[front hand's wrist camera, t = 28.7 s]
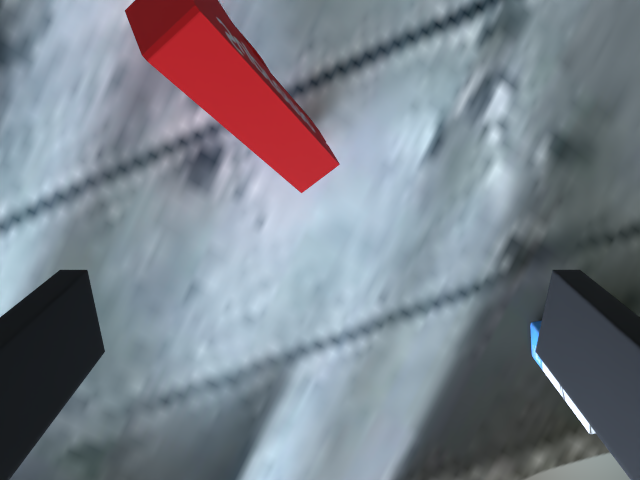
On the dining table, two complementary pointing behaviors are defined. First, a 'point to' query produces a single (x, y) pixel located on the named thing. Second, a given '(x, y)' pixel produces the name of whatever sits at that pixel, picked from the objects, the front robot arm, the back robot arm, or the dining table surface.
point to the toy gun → (230, 84)
